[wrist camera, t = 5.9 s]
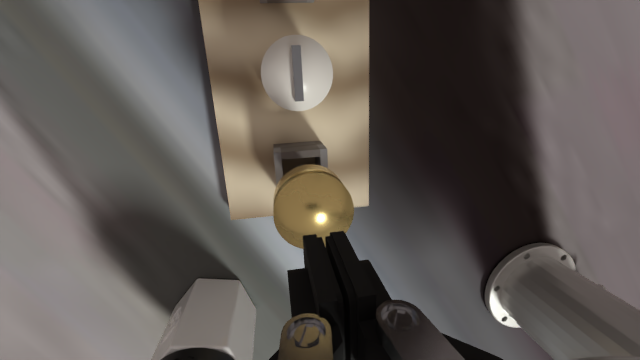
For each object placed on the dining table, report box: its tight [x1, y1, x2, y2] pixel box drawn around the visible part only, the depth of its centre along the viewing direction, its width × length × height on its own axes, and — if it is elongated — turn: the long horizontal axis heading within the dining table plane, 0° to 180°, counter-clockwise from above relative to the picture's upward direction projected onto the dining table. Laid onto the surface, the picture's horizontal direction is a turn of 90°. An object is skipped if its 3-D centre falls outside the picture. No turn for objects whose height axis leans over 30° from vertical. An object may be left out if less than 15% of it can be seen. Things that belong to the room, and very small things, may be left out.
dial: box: [261, 35, 333, 111], centre depth 23 cm, size 5×5×6 cm
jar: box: [151, 278, 256, 360], centre depth 29 cm, size 9×8×12 cm
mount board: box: [198, 0, 369, 220], centre depth 25 cm, size 26×14×6 cm, turn 3°
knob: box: [273, 164, 354, 249], centre depth 22 cm, size 5×5×8 cm
